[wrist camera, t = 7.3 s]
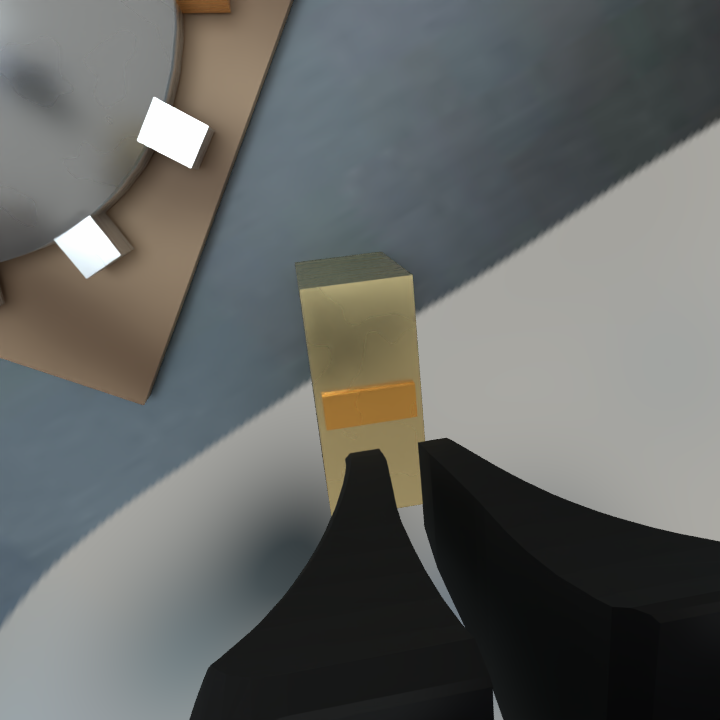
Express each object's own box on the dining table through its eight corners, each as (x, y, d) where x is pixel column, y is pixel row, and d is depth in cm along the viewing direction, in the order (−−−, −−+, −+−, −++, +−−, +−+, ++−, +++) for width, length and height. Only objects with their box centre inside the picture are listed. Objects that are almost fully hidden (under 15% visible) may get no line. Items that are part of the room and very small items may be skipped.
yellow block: (397, 432, 22) (431, 506, 17) (320, 444, 22) (332, 523, 17) (380, 251, 20) (413, 276, 15) (294, 262, 19) (299, 290, 14)
